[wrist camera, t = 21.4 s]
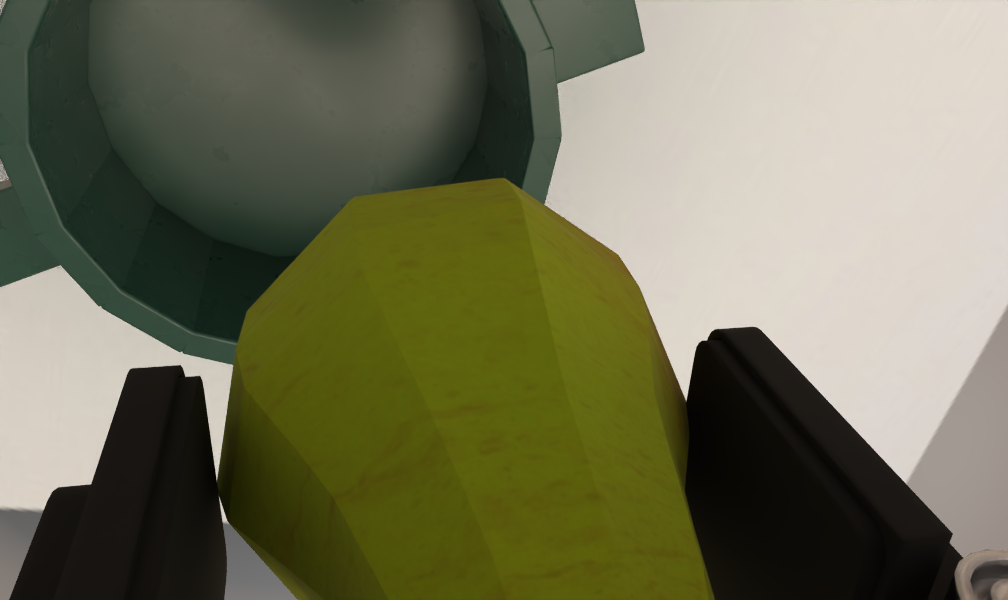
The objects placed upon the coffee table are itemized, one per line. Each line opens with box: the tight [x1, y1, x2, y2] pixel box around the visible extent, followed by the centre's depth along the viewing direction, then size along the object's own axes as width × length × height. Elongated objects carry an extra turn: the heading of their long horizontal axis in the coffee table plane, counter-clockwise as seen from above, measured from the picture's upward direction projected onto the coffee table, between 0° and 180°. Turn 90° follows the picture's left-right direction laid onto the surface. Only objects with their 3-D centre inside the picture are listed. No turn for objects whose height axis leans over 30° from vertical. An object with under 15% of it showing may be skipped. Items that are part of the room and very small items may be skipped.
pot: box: [0, 0, 645, 365], centre depth 25 cm, size 14×19×7 cm
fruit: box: [217, 178, 715, 600], centre depth 9 cm, size 6×6×12 cm
